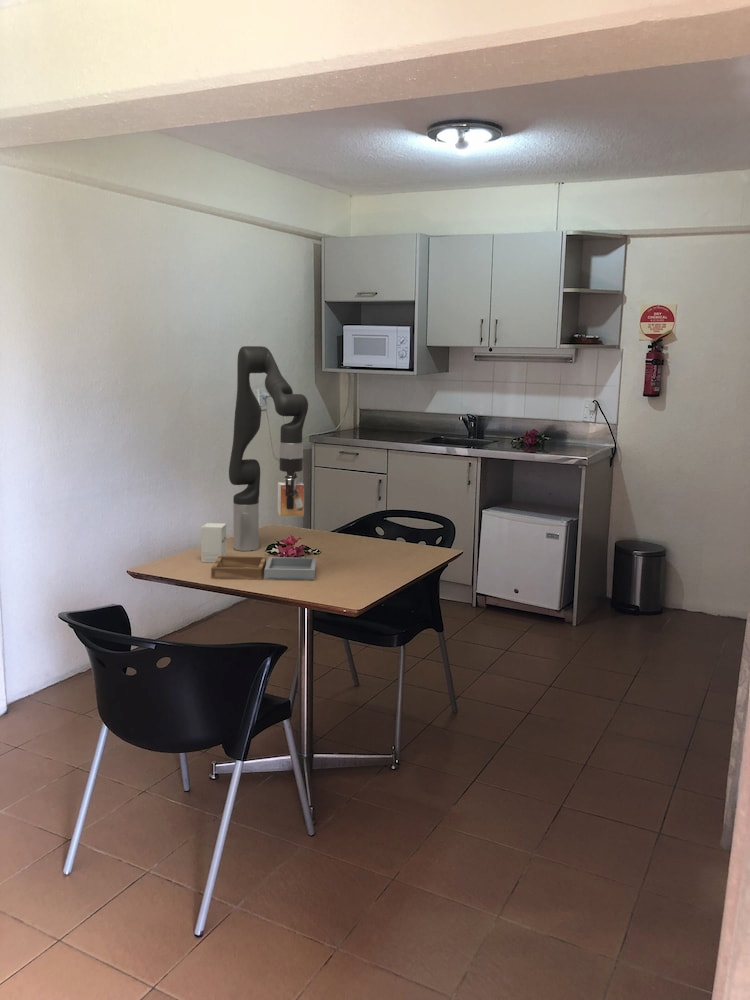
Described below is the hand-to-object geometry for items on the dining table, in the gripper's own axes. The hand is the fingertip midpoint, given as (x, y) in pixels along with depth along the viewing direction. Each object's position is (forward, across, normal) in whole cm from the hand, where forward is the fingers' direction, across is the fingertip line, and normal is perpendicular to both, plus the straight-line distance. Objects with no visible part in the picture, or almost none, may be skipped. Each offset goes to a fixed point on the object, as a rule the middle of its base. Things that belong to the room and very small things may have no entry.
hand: (290, 506), depth 270 cm
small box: (+3, 0, 0) cm, 3 cm away
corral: (+23, 0, -17) cm, 28 cm away
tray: (+23, 0, 0) cm, 23 cm away
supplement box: (+23, -16, -28) cm, 39 cm away
